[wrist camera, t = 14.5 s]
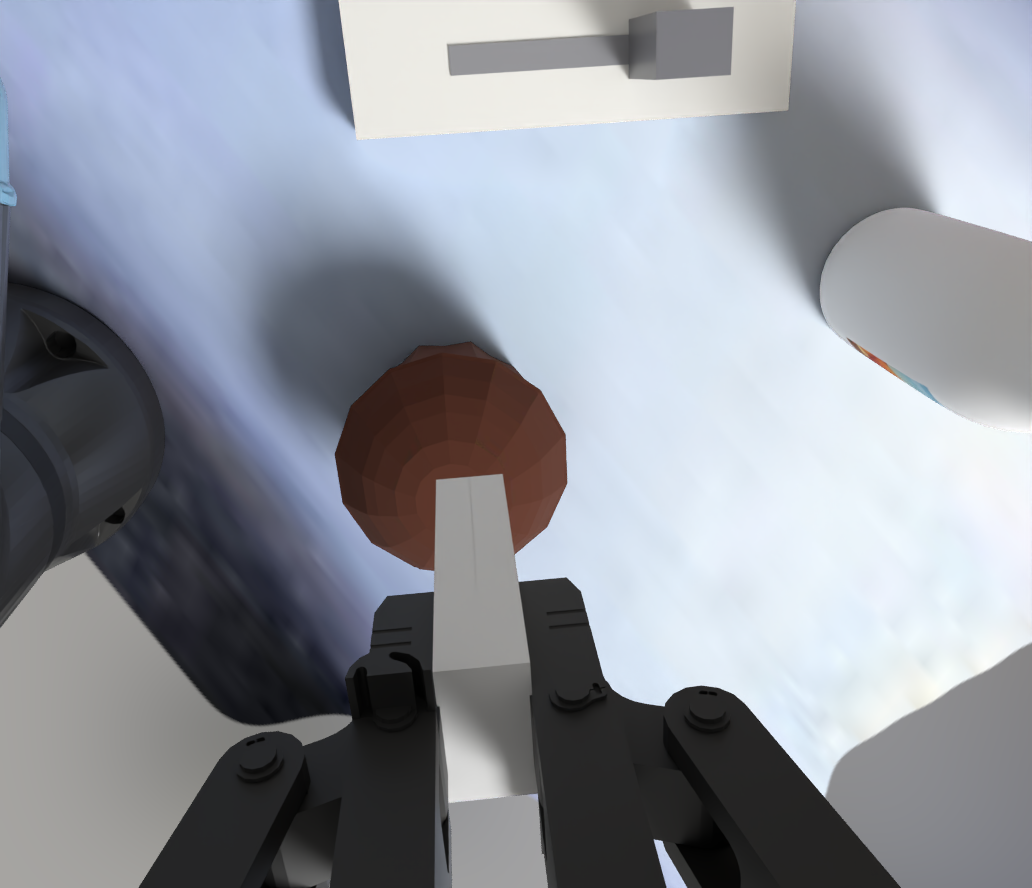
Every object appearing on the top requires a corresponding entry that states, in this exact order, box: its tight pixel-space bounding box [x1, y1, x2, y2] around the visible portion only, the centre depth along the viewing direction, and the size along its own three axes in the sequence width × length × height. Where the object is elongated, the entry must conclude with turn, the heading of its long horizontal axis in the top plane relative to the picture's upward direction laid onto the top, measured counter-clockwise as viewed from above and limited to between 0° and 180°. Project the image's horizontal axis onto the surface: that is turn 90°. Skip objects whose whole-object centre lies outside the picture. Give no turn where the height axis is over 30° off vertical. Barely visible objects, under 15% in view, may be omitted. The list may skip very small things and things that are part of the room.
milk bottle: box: [820, 208, 1032, 433], centre depth 36 cm, size 8×8×20 cm
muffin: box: [335, 342, 567, 571], centre depth 42 cm, size 12×11×10 cm
